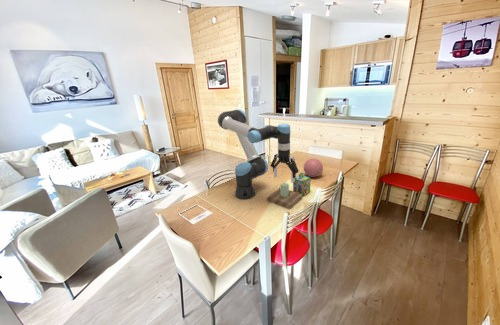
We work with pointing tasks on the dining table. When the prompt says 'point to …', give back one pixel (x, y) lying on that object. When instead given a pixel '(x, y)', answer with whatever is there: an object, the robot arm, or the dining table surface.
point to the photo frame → (199, 217)
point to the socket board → (284, 199)
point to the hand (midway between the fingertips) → (283, 179)
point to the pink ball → (313, 167)
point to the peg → (284, 190)
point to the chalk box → (301, 184)
